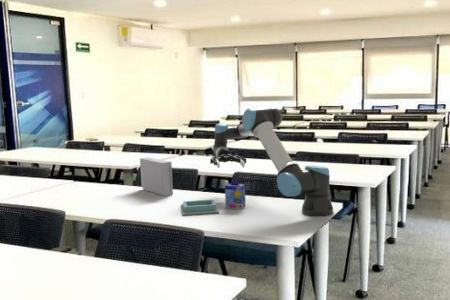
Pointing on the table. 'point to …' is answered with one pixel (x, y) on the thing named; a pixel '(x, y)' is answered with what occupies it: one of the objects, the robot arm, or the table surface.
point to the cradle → (199, 207)
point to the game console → (156, 176)
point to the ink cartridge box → (235, 195)
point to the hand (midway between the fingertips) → (231, 165)
